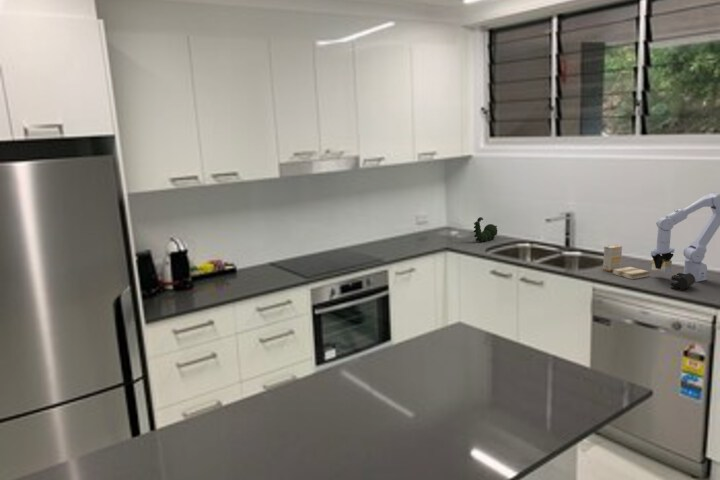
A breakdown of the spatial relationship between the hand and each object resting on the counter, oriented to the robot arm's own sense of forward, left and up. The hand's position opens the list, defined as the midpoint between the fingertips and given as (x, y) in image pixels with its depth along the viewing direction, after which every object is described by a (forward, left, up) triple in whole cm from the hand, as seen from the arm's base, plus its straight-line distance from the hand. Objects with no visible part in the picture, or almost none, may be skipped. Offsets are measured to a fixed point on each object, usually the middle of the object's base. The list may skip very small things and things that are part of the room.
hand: (661, 267), depth 271 cm
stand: (+11, +8, -5) cm, 15 cm away
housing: (0, 0, -2) cm, 2 cm away
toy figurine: (+123, +17, -6) cm, 124 cm away
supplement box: (+24, +7, -6) cm, 26 cm away
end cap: (-17, +7, -6) cm, 19 cm away
